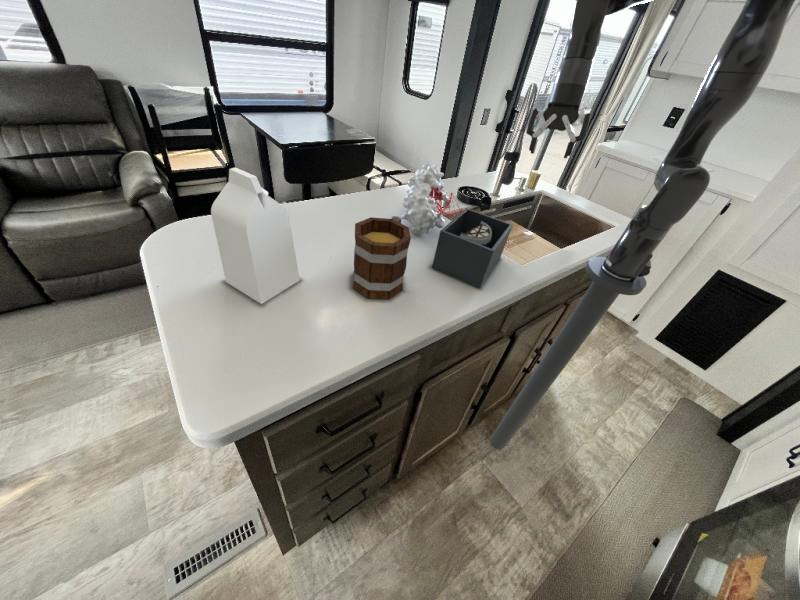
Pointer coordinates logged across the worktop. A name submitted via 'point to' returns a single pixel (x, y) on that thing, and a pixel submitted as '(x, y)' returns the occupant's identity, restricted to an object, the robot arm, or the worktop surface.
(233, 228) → the milk
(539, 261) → the worktop surface
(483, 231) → the food container
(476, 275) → the bin
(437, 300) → the worktop surface
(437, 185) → the protein dna model
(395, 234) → the mug
